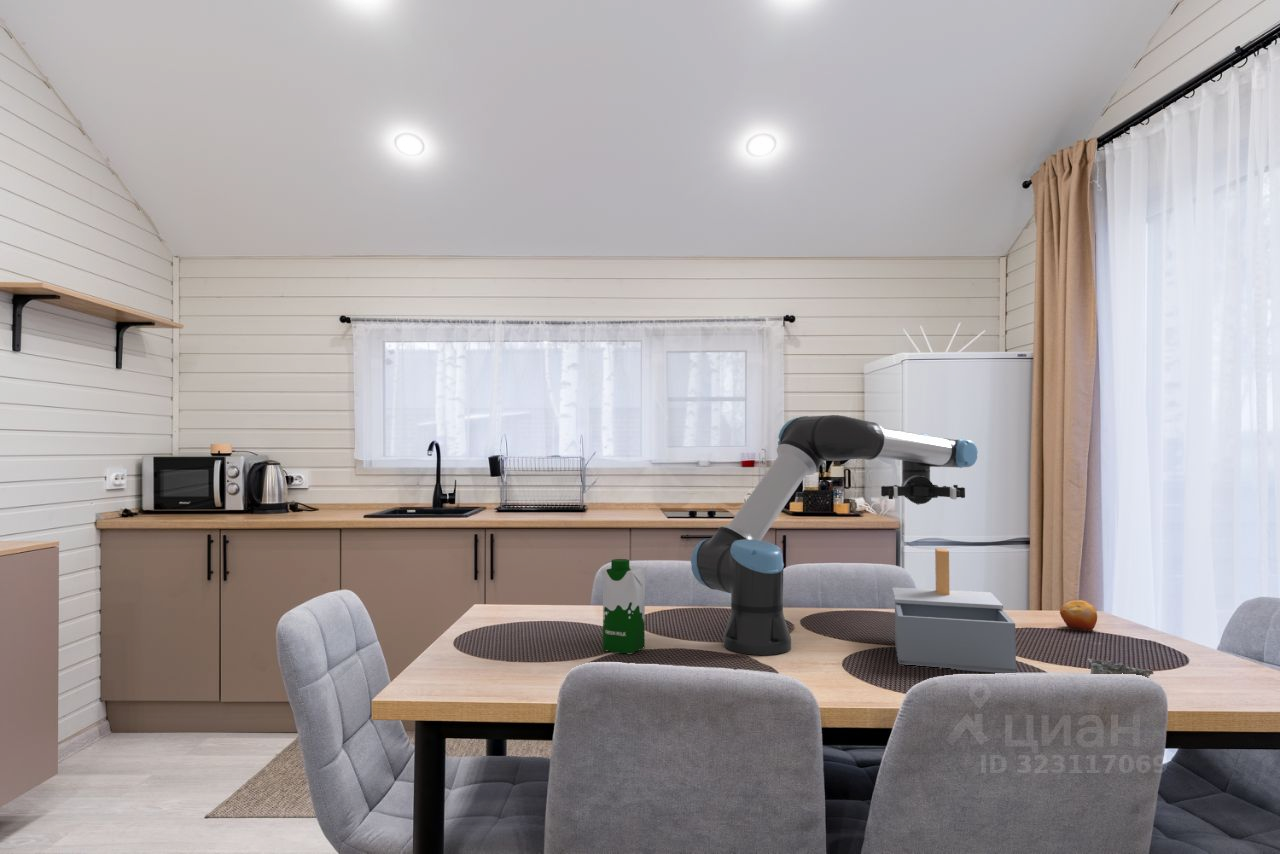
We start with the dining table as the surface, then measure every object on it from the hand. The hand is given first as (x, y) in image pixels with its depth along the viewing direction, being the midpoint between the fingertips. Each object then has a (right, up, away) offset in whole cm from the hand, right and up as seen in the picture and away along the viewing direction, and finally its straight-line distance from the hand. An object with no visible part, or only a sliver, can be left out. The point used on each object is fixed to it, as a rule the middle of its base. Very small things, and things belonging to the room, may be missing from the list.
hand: (925, 493), depth 184 cm
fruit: (+40, -35, +3) cm, 53 cm away
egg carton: (+21, -33, -42) cm, 57 cm away
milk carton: (-74, -33, -19) cm, 83 cm away
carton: (-4, -33, -26) cm, 42 cm away
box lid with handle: (-1, -23, -13) cm, 26 cm away
